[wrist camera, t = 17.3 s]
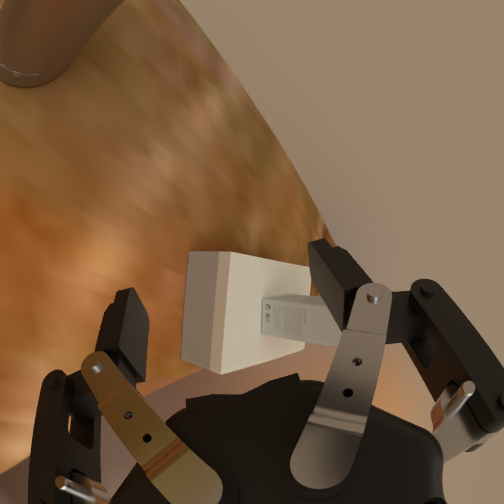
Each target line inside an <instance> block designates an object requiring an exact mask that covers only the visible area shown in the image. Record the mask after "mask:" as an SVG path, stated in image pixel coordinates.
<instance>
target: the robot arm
mask: <svg viewBox="0 0 504 504" xmlns="http://www.w3.org/2000/svg"><path fill="white" fill-rule="evenodd" d="M123 1H124V0H4V2H3V5H2V8H1V11H0V79H1V80H2V81H3V82H5V83H8V84H10V85H13V86H18V87H33V86H38V85H42V84H44V83H47V82H49V81H51V80H53V79H55V78H56V77H58V76H59V75H60V74H61V73H63V72H64V71H65V70H66V69H67V67H68V66H69V65H70V64H71V62H72V61H73V60H74V58H75V57H76V55H77V54H78V53H79V51H80V50H81V49H82V48H83V46H84V45H85V44H86V43H87V42H88V40H89V39H90V38H91V37H92V35H93V34H94V33H95V32H96V31H97V29H98V28H99V27H100V26H101V25H102V24H103V23H104V21H105V20H106V19H107V18H108V17H109V16H110V15H111V14H112V13H113V12H114V11H115V10H116V8H117V7H118V6H119V5H120V4H121V3H122V2H123ZM308 255H309V268H310V275H311V278H312V281H313V283H314V285H315V287H316V288H317V290H318V292H319V294H320V295H321V297H322V299H323V301H324V302H325V304H326V306H327V308H328V309H329V311H330V313H331V315H332V316H333V318H334V320H335V322H336V323H337V325H338V327H339V329H340V331H341V332H342V335H341V338H340V341H339V344H338V347H337V350H336V353H335V356H334V359H333V362H332V365H331V367H330V370H329V373H328V375H327V378H326V381H325V382H321V381H314V380H300V378H299V375H298V373H295V374H292V375H289V376H285V377H282V378H278V379H274V380H271V381H268V382H266V383H265V384H263V385H261V386H259V387H257V388H255V389H253V390H250V391H248V392H247V393H244V394H237V395H228V394H226V395H225V394H211V395H206V396H201V397H196V398H190V399H186V408H184V409H182V410H180V411H178V412H177V413H175V414H174V415H172V416H171V417H170V418H169V419H168V420H167V421H166V422H165V421H164V420H163V419H162V418H161V416H160V415H159V414H158V413H157V412H156V411H155V410H154V409H153V408H152V407H151V406H150V404H149V403H147V401H146V400H145V399H144V398H143V397H142V395H141V394H140V393H139V392H138V391H137V390H136V383H139V382H145V377H146V360H147V346H148V334H149V317H148V314H147V312H146V310H145V308H144V306H143V304H142V302H141V300H140V299H139V297H138V295H137V293H136V291H135V289H134V288H133V287H131V288H127V289H123V290H119V291H117V293H116V296H115V300H114V303H112V304H110V305H109V306H108V308H107V309H106V311H105V312H104V315H103V319H102V323H101V327H100V328H101V329H100V331H99V335H98V339H97V343H96V347H95V352H93V353H91V354H90V355H88V356H87V357H86V358H85V359H84V361H83V363H82V365H81V370H79V371H77V372H75V373H73V374H71V375H68V376H67V375H66V374H65V373H64V372H63V371H62V370H54V371H52V372H50V373H49V374H48V375H47V376H46V377H45V378H44V380H43V383H42V387H41V391H40V396H39V401H38V406H37V411H36V417H35V423H34V430H33V437H32V445H31V454H30V465H29V481H28V504H447V503H446V500H445V497H444V493H443V486H442V473H443V464H444V463H446V462H448V461H450V460H451V459H453V458H455V457H456V456H458V455H460V454H461V453H463V452H464V451H465V452H471V451H474V450H476V449H477V448H479V447H480V446H481V445H483V444H484V443H485V442H486V441H488V440H489V439H490V438H491V437H493V435H495V434H496V433H497V432H499V431H500V430H501V429H502V428H503V427H504V368H503V366H502V365H501V363H500V362H499V360H498V359H497V358H496V356H495V355H494V353H493V352H492V350H491V349H490V348H489V346H488V345H487V343H486V342H485V341H484V340H483V338H482V337H481V335H480V334H479V333H478V331H477V330H476V329H475V327H474V326H473V325H472V324H471V322H470V321H469V320H468V319H467V317H466V316H465V315H464V313H463V312H462V311H461V310H460V308H459V307H458V306H457V305H456V304H455V302H454V301H453V300H452V299H451V298H450V297H449V295H448V294H447V293H446V292H445V291H444V290H443V288H442V287H441V286H440V285H439V284H438V283H437V282H435V281H433V280H429V279H419V280H417V281H415V282H414V283H413V284H412V285H411V289H410V291H400V292H391V291H390V290H389V288H387V287H386V286H384V285H382V284H379V283H373V282H372V280H371V279H370V278H369V276H368V275H367V274H366V273H365V272H364V271H363V269H362V268H361V267H360V266H359V265H358V264H357V262H356V261H355V260H354V259H353V258H352V256H351V255H350V254H349V253H348V251H346V250H344V249H342V248H341V247H339V246H336V247H333V248H332V247H331V245H330V244H329V243H328V242H327V240H326V239H325V238H323V239H319V240H316V241H312V242H309V243H308ZM392 343H402V344H403V346H404V347H405V349H406V351H407V353H408V354H409V356H410V358H411V359H412V361H413V363H414V365H415V366H416V368H417V370H418V372H419V373H420V375H421V377H422V379H423V381H424V382H425V384H426V386H427V388H428V390H429V392H430V393H431V395H432V397H433V399H434V401H435V404H434V406H433V407H432V410H431V420H432V423H433V432H432V433H430V432H429V431H427V430H426V429H424V428H422V427H420V426H417V425H415V424H413V423H410V422H408V421H406V420H404V419H401V418H399V417H397V416H395V415H392V414H390V413H388V412H386V411H384V410H382V409H380V408H377V407H375V406H373V405H371V404H372V400H373V396H374V392H375V388H376V384H377V380H378V376H379V371H380V367H381V362H382V357H383V353H384V347H385V344H392ZM101 415H103V416H104V417H105V419H106V420H107V422H108V423H109V425H110V426H111V428H112V429H113V430H114V432H115V433H116V435H117V436H118V437H119V439H120V440H121V442H122V443H123V444H124V445H125V447H126V448H127V449H128V451H129V452H130V453H131V455H132V456H133V457H134V459H135V460H136V461H137V463H136V465H135V466H134V467H133V469H132V470H131V472H130V473H129V474H128V476H127V477H126V479H125V480H124V481H123V483H122V484H121V486H120V487H119V488H118V490H117V491H116V493H115V494H114V495H113V497H112V498H110V497H109V495H108V492H107V490H106V488H105V487H104V486H103V485H101V467H100V433H101ZM69 416H71V426H70V434H69V432H68V420H69Z"/></svg>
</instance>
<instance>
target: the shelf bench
mask: <svg viewBox="0 0 504 504" xmlns="http://www.w3.org/2000/svg"><path fill="white" fill-rule="evenodd" d="M310 286H311V275H310V268H309V267H305V266H300V265H295V264H290V263H285V262H280V261H275V260H270V259H265V258H260V257H255V256H250V255H245V254H240V253H235V252H221V251H189V257H188V266H187V277H186V288H185V300H184V314H183V328H182V345H181V359H182V360H184V361H187V362H189V363H192V364H194V365H197V366H199V367H202V368H204V369H207V370H210V371H212V372H215V373H218V374H220V375H221V374H225V373H229V372H232V371H236V370H240V369H243V368H247V367H250V366H253V365H256V364H260V363H264V362H267V361H270V360H273V359H276V358H279V357H282V356H286V355H289V354H291V353H295V352H298V351H300V350H303V349H304V346H305V342H302V341H296V340H291V339H285V338H280V337H275V336H270V335H265V334H262V332H261V330H262V302H263V298H267V297H273V296H278V295H284V294H298V295H307V296H310Z"/></svg>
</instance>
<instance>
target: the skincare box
mask: <svg viewBox="0 0 504 504" xmlns="http://www.w3.org/2000/svg"><path fill="white" fill-rule="evenodd" d="M261 332H262V334H265V335H270V336H275V337H280V338H285V339H291V340H296V341H302V342H307V343H313V344H320V345H325V346H332V347H338V344H339V341H340V338H341V335H342V332H341V331H340V329H339V327H338V325H337V323H336V322H335V320H334V318H333V316H332V315H331V313H330V311H329V309H328V308H327V306H326V304H325V302H324V301H323V299H322V297H318V296H307V295H298V294H284V295H278V296H273V297H267V298H263V302H262V330H261Z"/></svg>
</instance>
